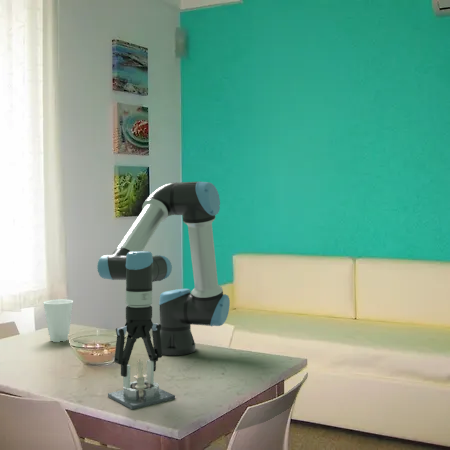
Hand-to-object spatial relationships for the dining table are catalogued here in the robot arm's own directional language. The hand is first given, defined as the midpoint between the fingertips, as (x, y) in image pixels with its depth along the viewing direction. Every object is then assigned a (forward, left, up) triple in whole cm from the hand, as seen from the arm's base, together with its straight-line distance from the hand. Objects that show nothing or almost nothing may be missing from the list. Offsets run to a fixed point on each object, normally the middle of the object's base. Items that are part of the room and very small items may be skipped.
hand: (138, 385), depth 172 cm
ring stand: (0, +1, -4) cm, 4 cm away
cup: (-86, +12, -4) cm, 87 cm away
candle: (0, +1, -3) cm, 3 cm away
